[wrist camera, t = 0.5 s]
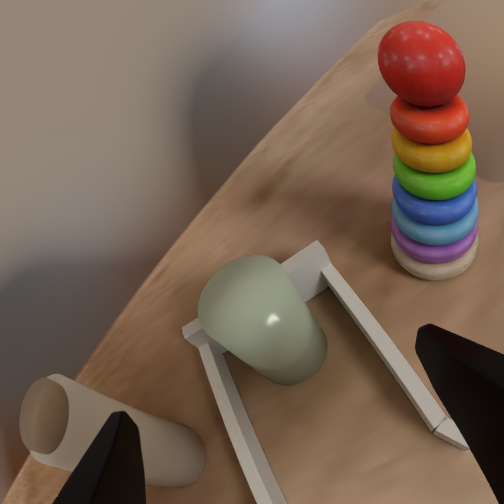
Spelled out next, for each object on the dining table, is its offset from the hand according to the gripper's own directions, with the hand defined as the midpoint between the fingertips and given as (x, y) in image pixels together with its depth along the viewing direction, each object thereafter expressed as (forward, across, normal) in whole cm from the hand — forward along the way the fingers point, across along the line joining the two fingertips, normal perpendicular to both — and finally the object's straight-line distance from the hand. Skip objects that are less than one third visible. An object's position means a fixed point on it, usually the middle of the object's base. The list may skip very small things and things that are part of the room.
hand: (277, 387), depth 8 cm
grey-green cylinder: (+13, -2, +12) cm, 18 cm away
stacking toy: (+14, -17, +7) cm, 23 cm away
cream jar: (+9, +10, +17) cm, 21 cm away
